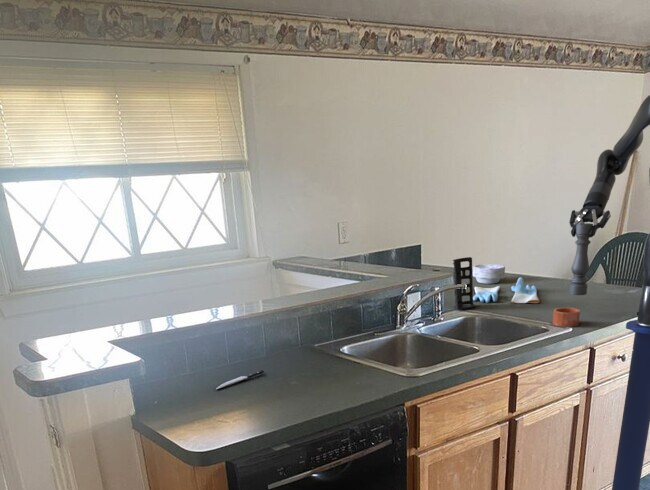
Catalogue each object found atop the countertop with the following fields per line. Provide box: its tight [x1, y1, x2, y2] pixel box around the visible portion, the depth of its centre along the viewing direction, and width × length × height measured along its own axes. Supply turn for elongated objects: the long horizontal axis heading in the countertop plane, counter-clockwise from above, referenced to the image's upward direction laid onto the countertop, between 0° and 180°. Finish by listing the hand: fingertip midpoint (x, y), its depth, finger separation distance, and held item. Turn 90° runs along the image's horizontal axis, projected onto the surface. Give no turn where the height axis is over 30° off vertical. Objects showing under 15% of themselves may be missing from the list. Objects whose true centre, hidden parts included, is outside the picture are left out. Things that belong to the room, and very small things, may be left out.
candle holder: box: [568, 222, 594, 296], centre depth 240 cm, size 6×6×25 cm
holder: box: [452, 256, 475, 311], centre depth 267 cm, size 11×8×20 cm
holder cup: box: [552, 307, 581, 328], centre depth 238 cm, size 9×9×5 cm
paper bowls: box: [472, 263, 506, 285], centre depth 317 cm, size 15×15×8 cm
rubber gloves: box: [473, 277, 540, 304], centre depth 287 cm, size 27×33×6 cm
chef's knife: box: [215, 369, 265, 390], centre depth 194 cm, size 19×1×3 cm
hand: (581, 235), depth 235 cm, fingers closed on candle holder, 5 cm apart
